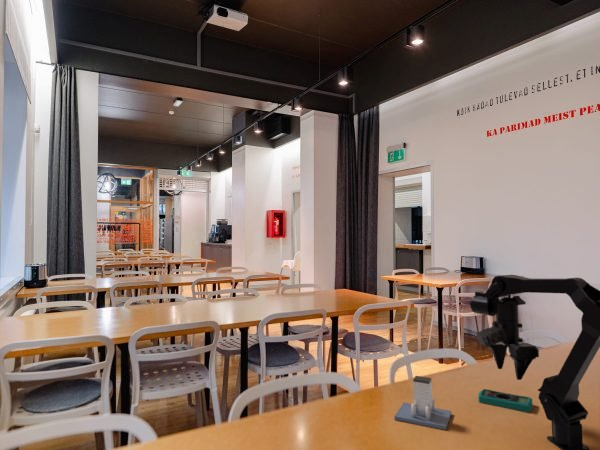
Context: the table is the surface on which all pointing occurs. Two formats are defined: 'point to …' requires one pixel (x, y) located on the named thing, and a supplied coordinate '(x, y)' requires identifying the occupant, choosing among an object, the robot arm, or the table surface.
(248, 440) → the table surface
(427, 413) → the grey pegged base
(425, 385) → the plate
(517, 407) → the digital multimeter
